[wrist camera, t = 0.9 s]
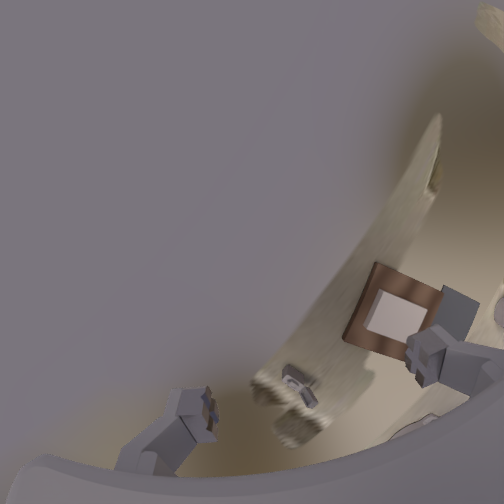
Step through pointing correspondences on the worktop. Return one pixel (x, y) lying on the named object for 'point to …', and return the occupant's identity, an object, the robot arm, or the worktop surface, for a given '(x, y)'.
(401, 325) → the tile
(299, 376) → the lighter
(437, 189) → the worktop surface
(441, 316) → the mat
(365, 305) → the plate
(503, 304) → the foam cup
